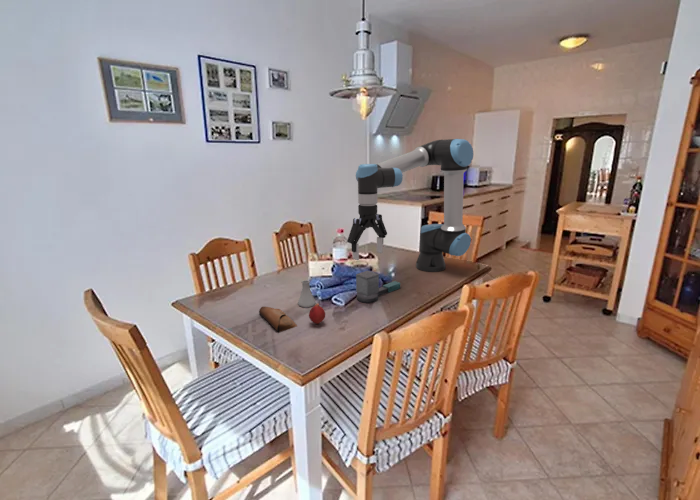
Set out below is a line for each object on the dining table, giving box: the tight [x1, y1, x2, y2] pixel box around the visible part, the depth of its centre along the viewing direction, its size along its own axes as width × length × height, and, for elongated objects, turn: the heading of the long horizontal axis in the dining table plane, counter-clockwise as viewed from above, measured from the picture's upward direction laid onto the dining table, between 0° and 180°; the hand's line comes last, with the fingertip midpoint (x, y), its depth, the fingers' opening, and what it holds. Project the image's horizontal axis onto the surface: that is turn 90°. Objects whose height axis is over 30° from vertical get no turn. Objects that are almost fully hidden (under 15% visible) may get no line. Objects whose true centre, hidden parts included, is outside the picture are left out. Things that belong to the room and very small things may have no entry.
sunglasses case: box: [258, 305, 298, 333], centre depth 133 cm, size 18×7×7 cm
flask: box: [297, 279, 317, 308], centre depth 146 cm, size 7×7×10 cm
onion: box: [308, 303, 326, 325], centre depth 129 cm, size 6×6×8 cm
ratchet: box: [356, 280, 401, 304], centre depth 155 cm, size 24×9×7 cm, turn 131°
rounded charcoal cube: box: [355, 270, 380, 296], centre depth 150 cm, size 7×7×8 cm
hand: (368, 255), depth 147 cm, fingers open, 13 cm apart
